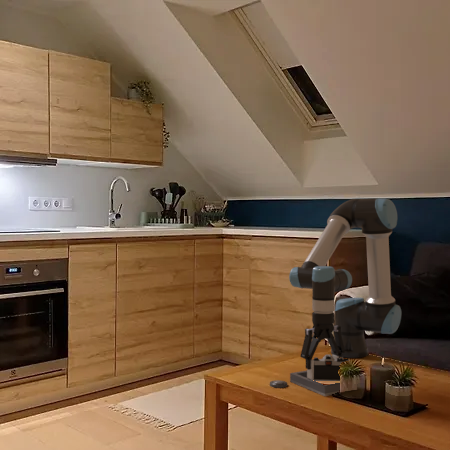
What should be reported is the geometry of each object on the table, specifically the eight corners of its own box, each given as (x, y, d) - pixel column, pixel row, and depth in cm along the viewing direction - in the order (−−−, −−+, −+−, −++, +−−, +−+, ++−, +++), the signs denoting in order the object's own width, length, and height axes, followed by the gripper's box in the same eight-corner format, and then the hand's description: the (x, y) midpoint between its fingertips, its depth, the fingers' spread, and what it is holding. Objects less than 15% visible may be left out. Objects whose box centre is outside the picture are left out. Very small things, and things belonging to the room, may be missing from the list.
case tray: (321, 376, 221) (321, 367, 220) (357, 389, 204) (357, 380, 204) (290, 381, 214) (290, 373, 214) (324, 396, 197) (324, 387, 197)
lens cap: (280, 382, 213) (280, 378, 213) (290, 387, 208) (290, 383, 208) (266, 385, 210) (266, 381, 210) (276, 390, 205) (276, 385, 205)
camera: (349, 375, 211) (346, 349, 211) (351, 381, 203) (349, 354, 203) (311, 378, 212) (309, 352, 212) (312, 384, 204) (310, 357, 204)
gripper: (341, 307, 217) (341, 369, 218) (289, 312, 206) (289, 378, 206) (356, 310, 210) (355, 374, 211) (303, 316, 199) (302, 383, 200)
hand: (322, 376), depth 209 cm, fingers closed on camera, 10 cm apart
